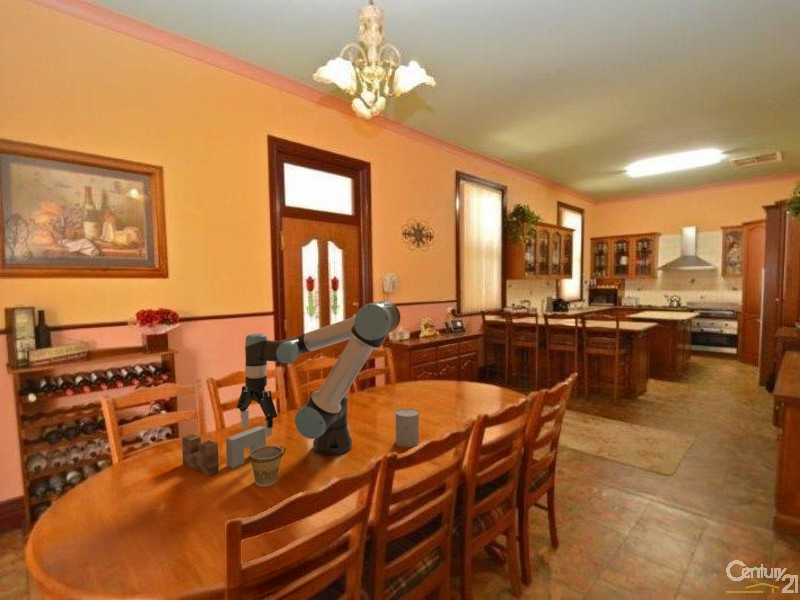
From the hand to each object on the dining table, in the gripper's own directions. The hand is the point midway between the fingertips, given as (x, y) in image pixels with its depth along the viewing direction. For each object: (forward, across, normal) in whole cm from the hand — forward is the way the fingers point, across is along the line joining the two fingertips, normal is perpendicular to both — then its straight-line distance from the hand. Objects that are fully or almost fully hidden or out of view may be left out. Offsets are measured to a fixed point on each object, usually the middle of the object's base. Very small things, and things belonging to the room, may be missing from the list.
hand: (256, 431), depth 150 cm
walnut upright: (+9, +7, +18) cm, 21 cm away
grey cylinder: (+8, -42, -40) cm, 59 cm away
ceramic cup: (+9, -20, +10) cm, 23 cm away
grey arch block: (+9, -1, +4) cm, 10 cm away
